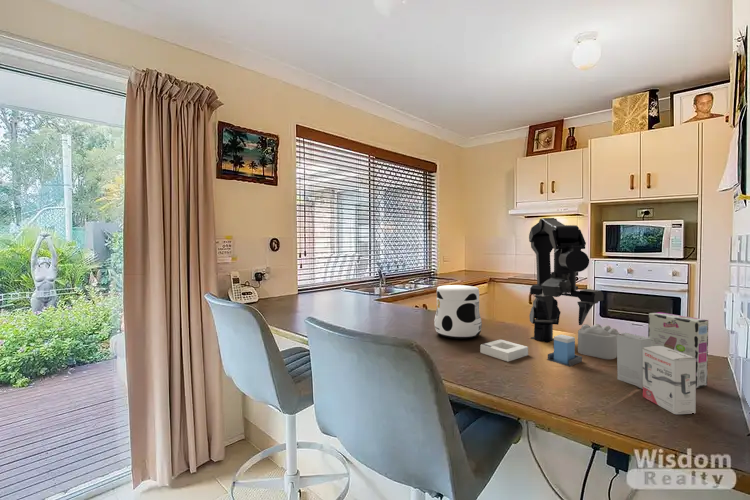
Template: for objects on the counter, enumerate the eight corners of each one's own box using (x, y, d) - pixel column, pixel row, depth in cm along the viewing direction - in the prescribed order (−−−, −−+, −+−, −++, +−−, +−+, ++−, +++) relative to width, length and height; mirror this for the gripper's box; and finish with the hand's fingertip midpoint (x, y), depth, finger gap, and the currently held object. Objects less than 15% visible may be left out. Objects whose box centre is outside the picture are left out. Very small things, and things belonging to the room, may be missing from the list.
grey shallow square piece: (559, 356, 110) (559, 350, 110) (582, 363, 104) (582, 356, 104) (546, 361, 106) (546, 354, 106) (569, 368, 100) (569, 361, 100)
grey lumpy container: (574, 354, 112) (574, 327, 112) (586, 345, 121) (587, 320, 121) (613, 362, 105) (613, 333, 104) (623, 352, 114) (624, 325, 113)
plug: (561, 357, 108) (561, 334, 108) (574, 361, 105) (574, 337, 104) (553, 360, 106) (553, 336, 105) (567, 363, 102) (567, 339, 102)
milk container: (429, 330, 142) (429, 285, 141) (471, 328, 144) (471, 284, 143) (442, 343, 125) (441, 292, 124) (489, 341, 127) (489, 290, 126)
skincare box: (652, 386, 88) (653, 337, 87) (642, 390, 86) (643, 340, 85) (625, 377, 93) (626, 331, 93) (615, 381, 91) (616, 334, 91)
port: (500, 348, 119) (500, 338, 119) (528, 356, 110) (528, 346, 110) (480, 354, 113) (480, 344, 113) (507, 363, 105) (507, 352, 105)
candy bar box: (708, 386, 88) (710, 319, 87) (696, 389, 86) (698, 321, 85) (658, 370, 98) (659, 311, 98) (646, 373, 96) (647, 312, 96)
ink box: (640, 397, 82) (641, 345, 82) (660, 395, 83) (661, 345, 82) (674, 415, 74) (676, 358, 73) (697, 414, 74) (698, 357, 74)
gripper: (519, 268, 107) (519, 319, 108) (584, 272, 92) (583, 333, 92) (540, 266, 114) (540, 314, 114) (604, 270, 98) (603, 326, 99)
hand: (564, 321), depth 105 cm, fingers open, 9 cm apart
